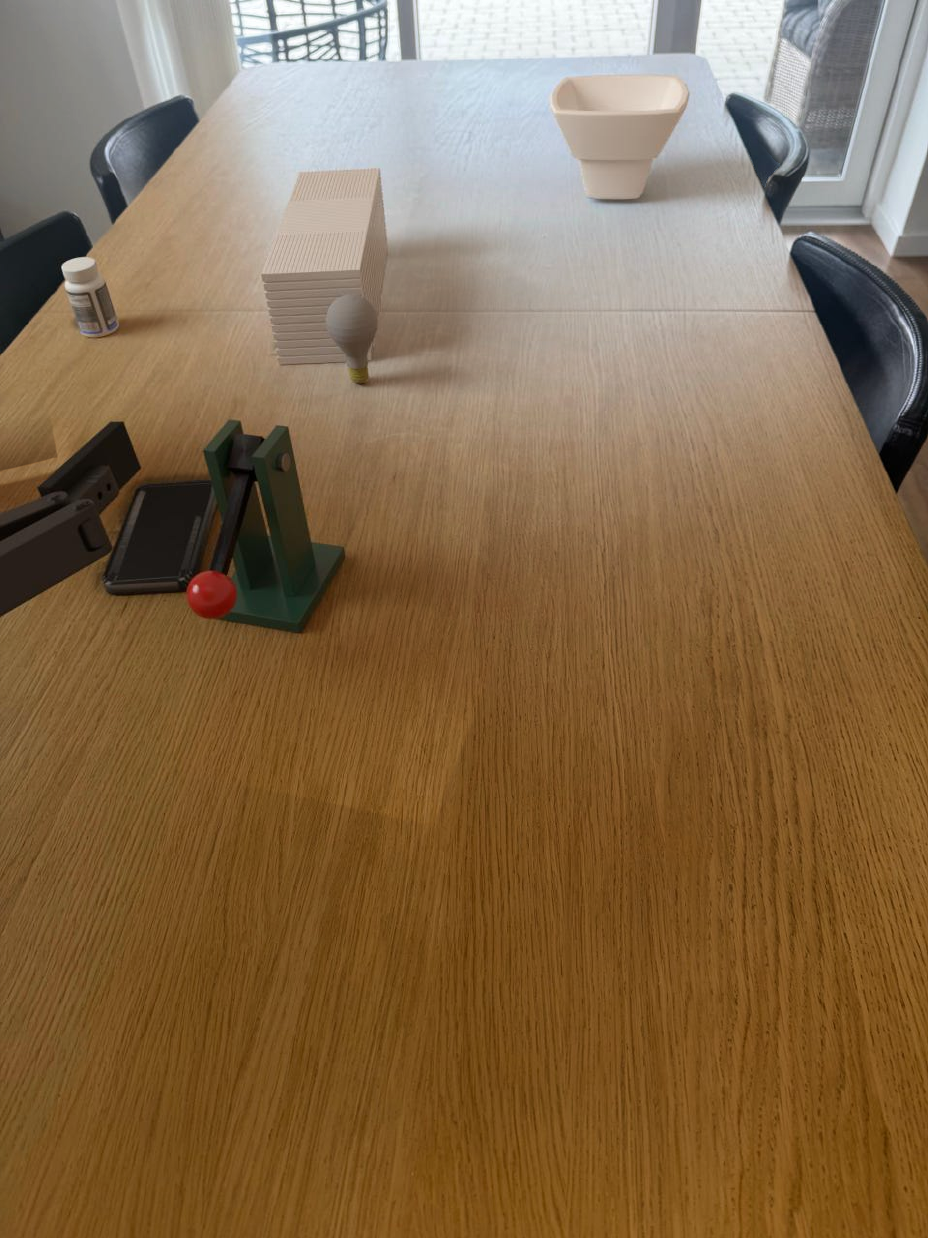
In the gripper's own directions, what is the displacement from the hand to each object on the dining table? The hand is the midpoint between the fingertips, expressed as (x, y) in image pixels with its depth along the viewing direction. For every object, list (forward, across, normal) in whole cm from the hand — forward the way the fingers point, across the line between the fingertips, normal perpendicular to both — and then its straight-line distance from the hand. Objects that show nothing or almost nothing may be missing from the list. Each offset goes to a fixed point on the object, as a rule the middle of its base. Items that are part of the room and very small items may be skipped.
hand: (17, 445), depth 52 cm
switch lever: (+17, 0, -17) cm, 23 cm away
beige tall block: (+74, -14, -20) cm, 78 cm away
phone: (+25, -13, -23) cm, 37 cm away
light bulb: (+55, -4, -22) cm, 60 cm away
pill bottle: (+63, -41, -18) cm, 77 cm away
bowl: (+115, +16, -20) cm, 118 cm away
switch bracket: (+21, 0, -25) cm, 32 cm away
